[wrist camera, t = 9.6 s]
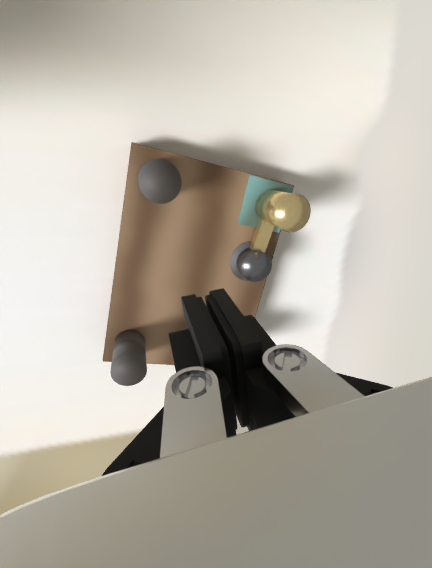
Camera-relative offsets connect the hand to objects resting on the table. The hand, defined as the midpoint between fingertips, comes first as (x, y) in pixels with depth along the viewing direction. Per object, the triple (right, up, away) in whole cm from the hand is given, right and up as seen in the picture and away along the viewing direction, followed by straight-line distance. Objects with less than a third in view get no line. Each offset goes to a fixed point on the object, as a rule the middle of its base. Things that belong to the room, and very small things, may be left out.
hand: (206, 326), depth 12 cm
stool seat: (-2, +4, +22) cm, 23 cm away
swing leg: (+5, +7, +19) cm, 21 cm away
